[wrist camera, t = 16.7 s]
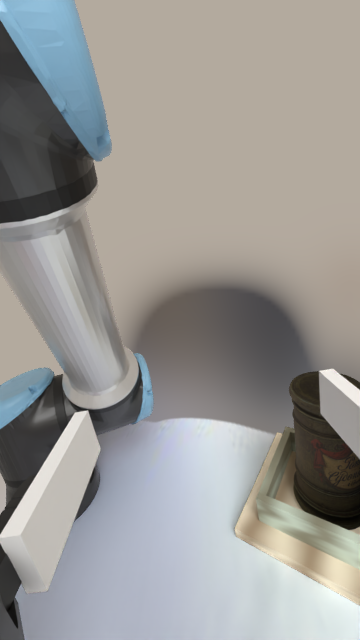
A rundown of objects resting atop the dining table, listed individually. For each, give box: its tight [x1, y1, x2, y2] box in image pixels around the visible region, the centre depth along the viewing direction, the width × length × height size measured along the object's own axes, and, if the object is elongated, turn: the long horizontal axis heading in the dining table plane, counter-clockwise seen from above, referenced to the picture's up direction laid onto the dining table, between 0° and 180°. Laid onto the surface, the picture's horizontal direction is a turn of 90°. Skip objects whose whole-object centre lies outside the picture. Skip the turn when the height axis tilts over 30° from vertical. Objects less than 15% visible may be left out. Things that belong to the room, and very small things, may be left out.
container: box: [289, 371, 360, 530], centre depth 34 cm, size 9×9×18 cm
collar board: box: [235, 427, 360, 605], centre depth 36 cm, size 20×20×6 cm
